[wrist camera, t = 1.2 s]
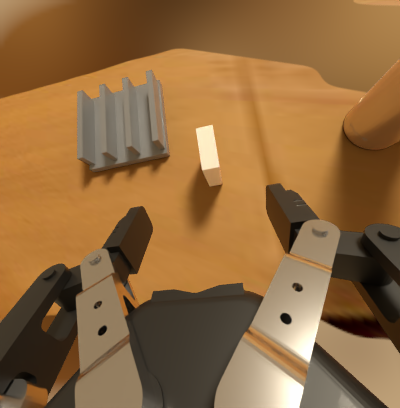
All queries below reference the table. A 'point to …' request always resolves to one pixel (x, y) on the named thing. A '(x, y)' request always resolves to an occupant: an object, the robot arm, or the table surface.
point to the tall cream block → (209, 155)
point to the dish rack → (122, 125)
